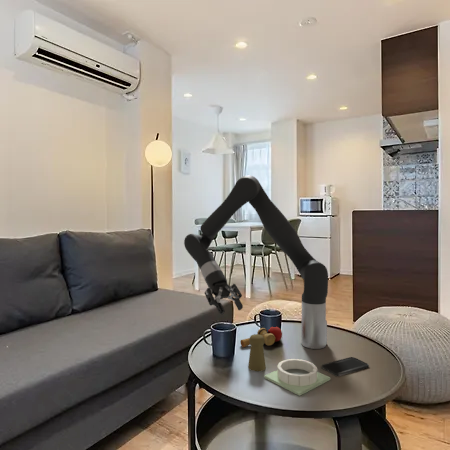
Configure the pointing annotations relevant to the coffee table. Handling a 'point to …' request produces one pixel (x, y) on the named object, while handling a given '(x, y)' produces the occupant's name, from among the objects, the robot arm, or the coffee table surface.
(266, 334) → the kendama
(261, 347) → the cork
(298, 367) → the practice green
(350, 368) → the phone
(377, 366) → the coffee table surface
